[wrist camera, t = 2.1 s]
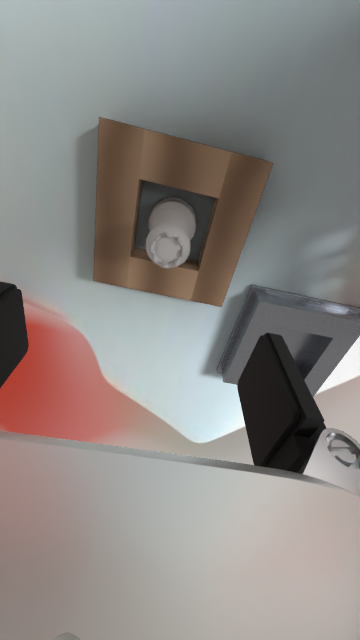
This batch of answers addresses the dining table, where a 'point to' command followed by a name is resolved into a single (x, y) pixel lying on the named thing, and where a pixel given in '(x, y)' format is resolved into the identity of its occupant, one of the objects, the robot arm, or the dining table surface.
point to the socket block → (183, 173)
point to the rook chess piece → (170, 232)
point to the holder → (292, 333)
